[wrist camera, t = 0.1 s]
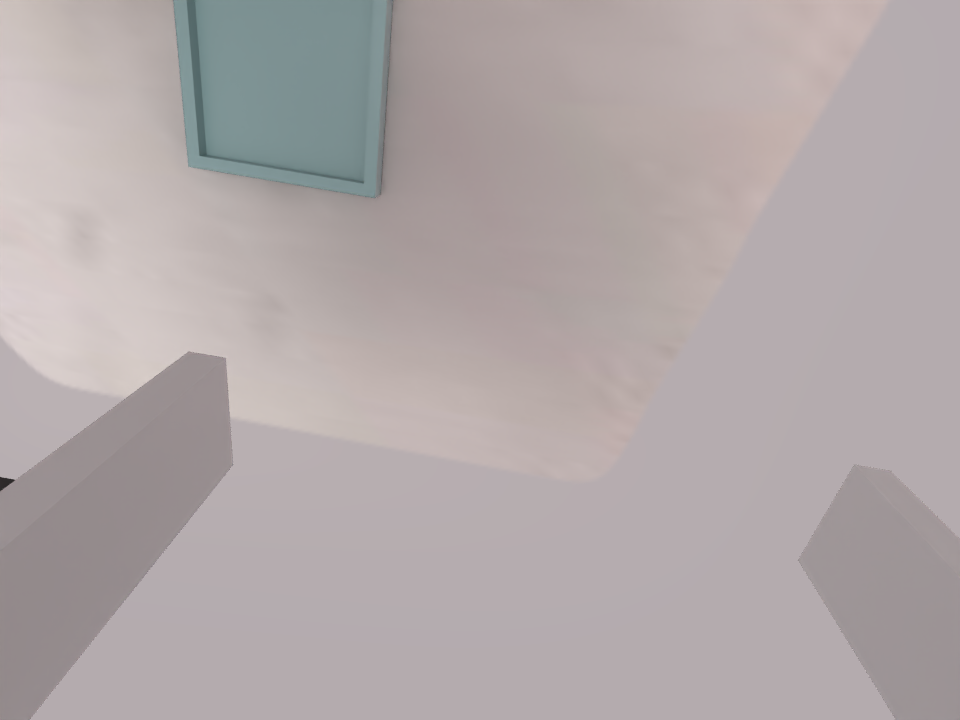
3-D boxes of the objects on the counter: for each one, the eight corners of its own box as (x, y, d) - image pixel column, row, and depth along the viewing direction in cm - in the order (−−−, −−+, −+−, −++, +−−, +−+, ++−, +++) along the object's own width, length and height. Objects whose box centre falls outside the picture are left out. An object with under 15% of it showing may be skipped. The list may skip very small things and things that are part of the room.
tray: (182, -62, 31) (167, -69, 29) (394, -25, 31) (388, -31, 29) (200, 164, 36) (188, 166, 35) (380, 194, 36) (374, 198, 35)
